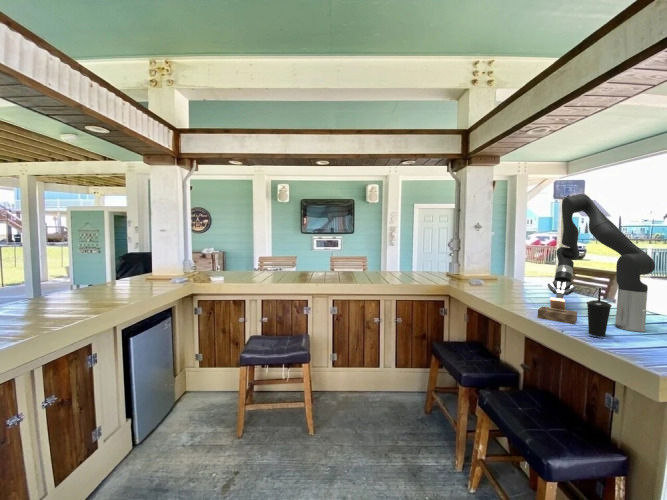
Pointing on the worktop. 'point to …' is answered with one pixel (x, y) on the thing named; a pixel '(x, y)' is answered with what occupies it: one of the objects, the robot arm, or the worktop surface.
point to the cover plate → (557, 303)
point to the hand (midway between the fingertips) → (559, 299)
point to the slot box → (557, 315)
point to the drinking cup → (598, 316)
